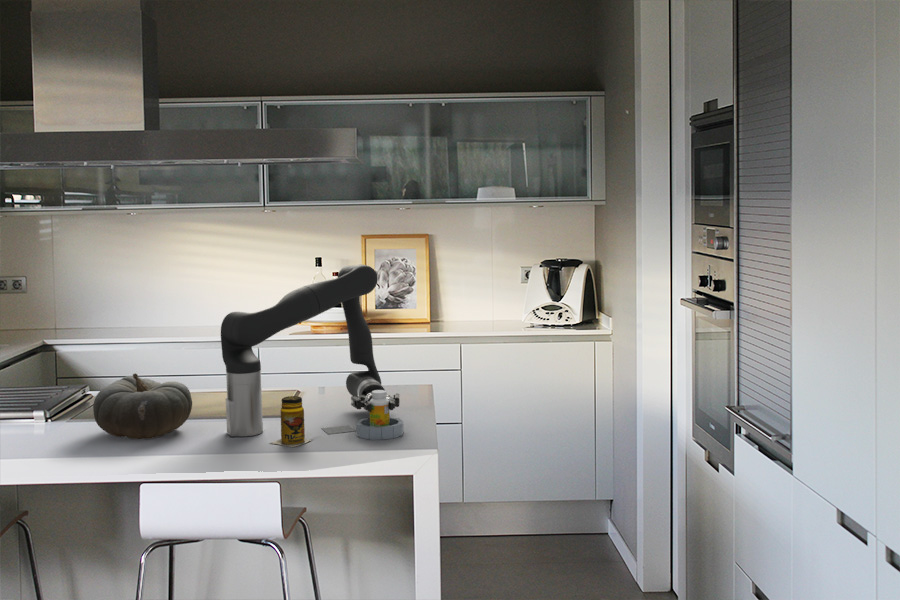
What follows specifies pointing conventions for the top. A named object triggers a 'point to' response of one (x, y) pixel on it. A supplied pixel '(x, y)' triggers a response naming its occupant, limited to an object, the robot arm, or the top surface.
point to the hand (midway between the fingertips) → (380, 407)
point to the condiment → (292, 422)
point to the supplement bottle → (379, 409)
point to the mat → (338, 429)
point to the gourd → (142, 407)
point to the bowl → (379, 429)
